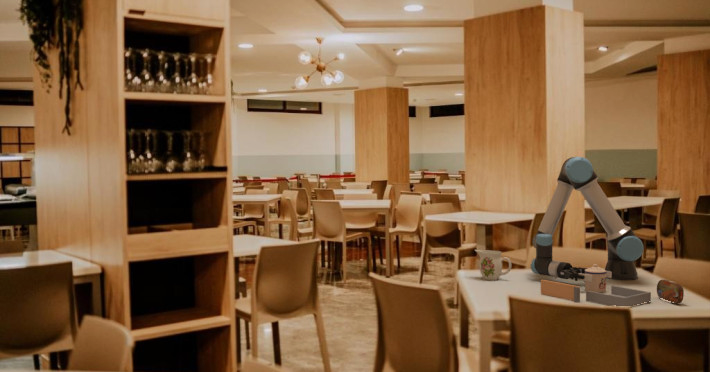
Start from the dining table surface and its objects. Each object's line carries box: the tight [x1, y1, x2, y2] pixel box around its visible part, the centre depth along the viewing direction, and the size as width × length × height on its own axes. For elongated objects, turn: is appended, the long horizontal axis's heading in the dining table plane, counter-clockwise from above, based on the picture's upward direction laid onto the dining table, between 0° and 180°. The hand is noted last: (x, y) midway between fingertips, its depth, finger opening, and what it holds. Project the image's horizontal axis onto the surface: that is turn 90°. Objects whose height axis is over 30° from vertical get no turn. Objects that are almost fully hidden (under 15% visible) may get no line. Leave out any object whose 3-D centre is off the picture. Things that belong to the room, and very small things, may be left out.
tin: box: [656, 279, 685, 304], centre depth 254 cm, size 15×3×8 cm, turn 5°
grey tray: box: [573, 285, 652, 307], centre depth 255 cm, size 23×19×6 cm
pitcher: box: [474, 249, 512, 281], centre depth 306 cm, size 11×18×14 cm, turn 62°
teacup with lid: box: [584, 263, 607, 294], centre depth 277 cm, size 12×9×12 cm
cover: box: [540, 279, 581, 301], centre depth 264 cm, size 19×1×6 cm, turn 34°
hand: (601, 276), depth 275 cm, fingers open, 13 cm apart
